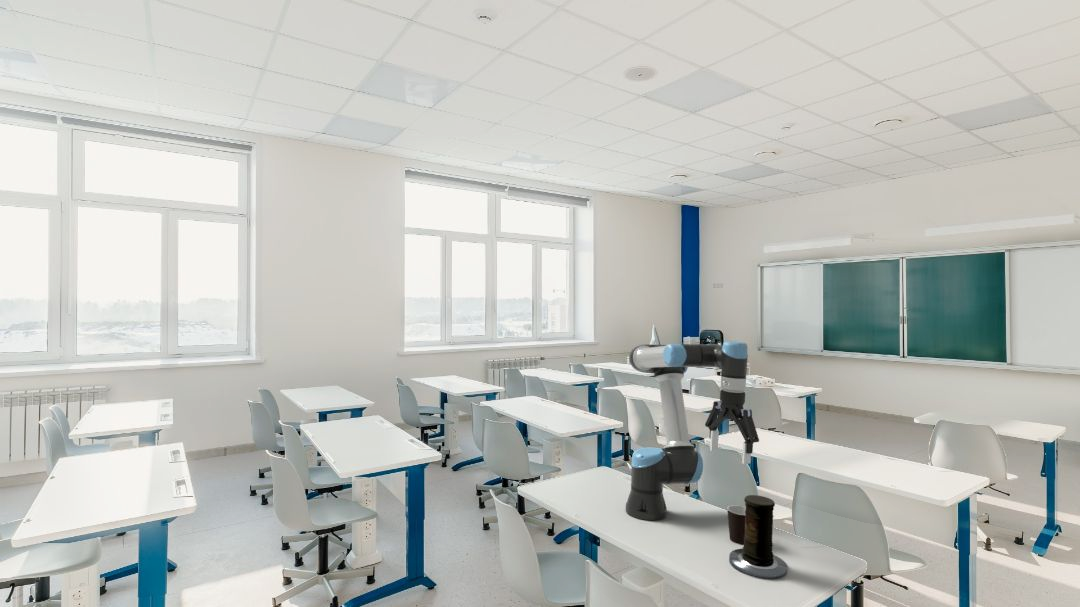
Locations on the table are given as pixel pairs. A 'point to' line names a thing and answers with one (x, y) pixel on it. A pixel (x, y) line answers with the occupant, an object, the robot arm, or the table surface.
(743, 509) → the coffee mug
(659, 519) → the robot arm
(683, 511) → the table surface
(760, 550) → the container
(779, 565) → the dark gray plate
